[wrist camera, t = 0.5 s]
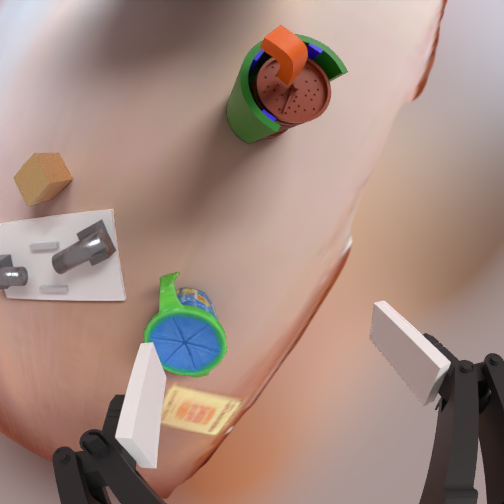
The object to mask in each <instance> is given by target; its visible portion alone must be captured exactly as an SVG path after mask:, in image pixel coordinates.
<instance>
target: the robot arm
mask: <svg viewBox="0 0 504 504" xmlns="http://www.w3.org/2000/svg"><path fill="white" fill-rule="evenodd" d="M369 339H370V340H371V341H372V342H373V344H374V345H375V346H376V347H377V349H378V350H379V351H380V352H381V353H382V355H383V356H384V357H385V358H386V359H387V361H388V362H389V363H390V364H391V366H392V367H393V368H394V369H395V371H396V372H397V373H398V374H399V375H400V377H401V378H402V379H403V380H404V382H405V383H406V384H407V385H408V387H409V388H410V389H411V390H412V391H413V393H414V394H415V395H416V397H417V398H418V399H419V401H420V402H421V403H422V404H423V406H425V405H427V404H429V403H430V402H432V401H434V400H435V398H436V396H437V394H438V393H439V394H440V395H441V398H440V400H439V402H438V404H437V406H436V408H435V410H437V408H438V407H439V411H438V420H437V427H436V434H435V440H434V446H433V451H432V457H431V461H430V466H429V470H428V474H427V478H426V482H425V486H424V489H423V493H422V496H421V499H420V503H419V504H477V498H478V492H477V490H476V489H474V487H473V485H474V478H475V471H476V461H477V451H478V436H479V441H480V446H481V452H482V457H483V464H484V473H485V482H486V495H487V504H504V361H503V359H502V358H501V357H500V356H499V355H497V354H495V353H490V354H488V355H487V356H486V357H485V359H484V362H481V363H478V364H473V363H472V362H470V361H467V360H461V361H459V360H458V359H457V358H456V357H454V355H453V354H452V353H451V352H449V351H448V350H447V349H446V348H445V347H443V345H442V344H441V343H439V341H438V340H436V339H435V338H434V337H433V336H431V335H429V334H427V333H425V334H423V335H422V334H421V333H420V332H418V331H417V330H416V329H415V328H414V327H413V326H412V325H411V324H410V323H409V322H407V321H406V320H405V319H404V318H403V317H402V316H401V315H400V314H399V313H397V312H396V311H395V310H394V309H393V308H392V307H391V306H390V305H389V304H388V303H386V302H385V301H380V302H376V303H374V306H373V315H372V323H371V330H370V337H369ZM165 384H166V375H165V372H164V370H163V367H162V365H161V362H160V360H159V357H158V354H157V352H156V349H155V346H154V344H153V342H151V343H141V344H140V347H139V350H138V354H137V357H136V360H135V363H134V367H133V370H132V374H131V377H130V381H129V384H128V388H127V391H126V395H115V397H114V398H113V399H112V400H111V402H110V405H109V408H108V412H107V415H106V418H105V422H104V425H103V429H102V431H100V430H97V429H91V430H89V431H86V432H85V433H84V434H83V435H82V436H81V438H80V446H81V448H82V449H83V450H84V451H79V452H74V451H73V450H72V449H71V448H69V447H60V448H58V449H57V450H56V451H55V452H54V454H53V466H54V472H55V477H56V482H57V487H58V492H59V496H60V501H61V504H111V501H110V499H109V496H108V493H107V491H106V488H105V486H109V487H110V489H111V490H112V492H113V493H114V495H115V496H116V497H117V499H118V500H119V502H120V503H121V504H166V503H165V502H164V501H163V499H162V498H161V497H160V496H159V495H158V494H157V493H156V492H155V491H154V490H153V489H152V488H151V486H150V485H149V484H148V483H147V482H146V481H145V480H144V478H143V477H142V476H141V475H140V474H139V472H138V471H137V470H136V463H137V464H138V465H139V466H140V467H141V468H156V467H157V454H158V443H159V433H160V424H161V415H162V406H163V399H164V391H165ZM490 391H491V392H490Z"/></svg>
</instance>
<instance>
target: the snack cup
mask: <svg viewBox="0 0 504 504" xmlns="http://www.w3.org/2000/svg"><path fill="white" fill-rule="evenodd" d="M178 275H179V272H175V273H172V274H168V275H165V276H162V277H161V278H160V292H159V312H157V313H156V314H155V315H154V316H153V317H152V318H151V320H150V321H149V323H148V325H147V327H146V328H145V329H144V334H143V336H144V343H151V342H153V344H154V346H155V349H156V352H157V354H158V357H159V360H160V362H161V365H162V367H163V369H165V370H167V371H169V372H172V373H175V374H179V375H190V376H192V377H201V376H205V375H209V371H210V370H212V369H213V368H214V367H216V366H217V365H218V364H219V363H220V362H221V360H222V359H223V357H224V355H225V354H226V351H227V346H226V336H225V332H224V330H223V328H222V326H221V324H220V323H219V321H218V318H217V315H216V313H215V310H214V307H213V305H212V303H211V301H210V299H209V298H208V296H207V295H206V294H205V293H204V292H201V291H199V290H196V289H192V288H181V289H178V290H177V291H176V289H175V283H174V280H175V279H176V278H177V276H178Z"/></svg>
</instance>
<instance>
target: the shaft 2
mask: <svg viewBox="0 0 504 504" xmlns="http://www.w3.org/2000/svg"><path fill="white" fill-rule="evenodd" d="M77 236H78V239H79V241H77V242H76V243H74V244H72V245H70V246H68V247H67V248H65V249H63V250H61V251H60V252H58V253H56V254H55V255H53V256H52V266H53V268H54V270H55V271H56V272H57V273H58V274H64V273H65V272H67V271H69V270H71V269H73V268H75V267H77V266H79V265H81V264H83V263H85V262H87V261H90V263H91V265H92V266H94V265H96V264H98V263H100V262H102V261H104V260H106V259H108V258H109V257H110V256H111V255H112V254H113V253H114V252H115V251H116V248H115V246H114V244H113V242H112V240H111V238H110V236H109V234H108V231H107V229H106V227H105V225H104V223H103V220H100V221H98V222H96V223H94V224H92V225H90V226H88V227H87V228H85V229H83V230H82V231H80V232H78V233H77Z"/></svg>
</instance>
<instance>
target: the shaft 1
mask: <svg viewBox="0 0 504 504" xmlns="http://www.w3.org/2000/svg"><path fill="white" fill-rule="evenodd" d="M27 281H28V272H27V270H26V268H25V267H13V263H12V258H11V254H7V255H0V289H8V288H9V287H10V286H25V285H26V284H27Z"/></svg>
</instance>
